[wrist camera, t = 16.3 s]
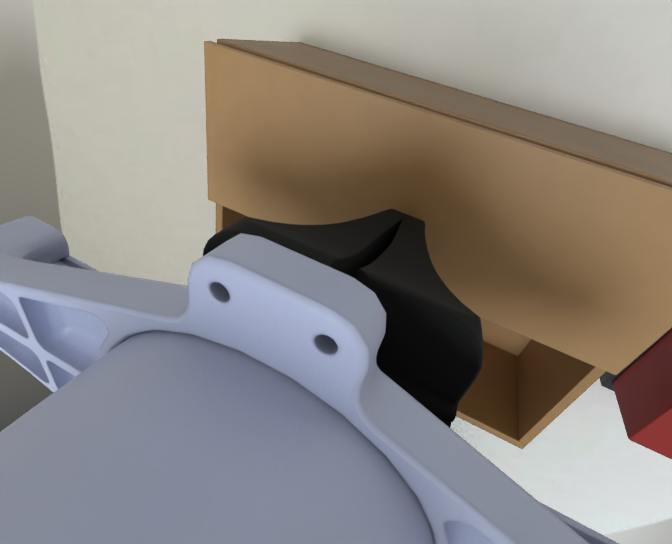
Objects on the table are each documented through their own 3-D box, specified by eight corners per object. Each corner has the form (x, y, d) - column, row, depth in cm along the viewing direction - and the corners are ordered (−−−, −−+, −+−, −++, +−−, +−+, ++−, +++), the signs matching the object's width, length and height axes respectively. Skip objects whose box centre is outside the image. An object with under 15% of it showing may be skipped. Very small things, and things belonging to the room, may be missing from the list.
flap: (212, 197, 16) (207, 199, 16) (210, 41, 13) (203, 40, 12) (614, 369, 13) (616, 376, 12) (781, 221, 9) (788, 227, 9)
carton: (273, 248, 25) (215, 296, 20) (299, 42, 18) (216, 38, 13) (520, 358, 22) (522, 449, 17) (684, 157, 14) (777, 214, 9)
